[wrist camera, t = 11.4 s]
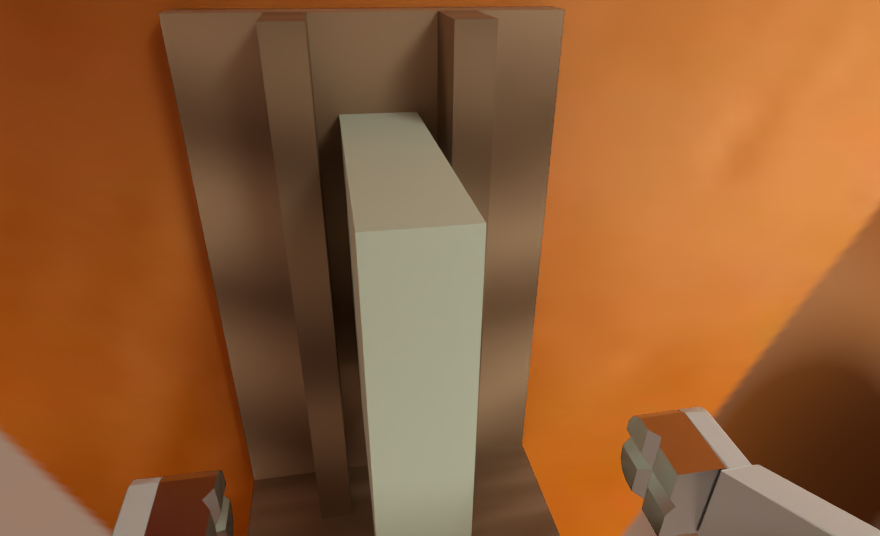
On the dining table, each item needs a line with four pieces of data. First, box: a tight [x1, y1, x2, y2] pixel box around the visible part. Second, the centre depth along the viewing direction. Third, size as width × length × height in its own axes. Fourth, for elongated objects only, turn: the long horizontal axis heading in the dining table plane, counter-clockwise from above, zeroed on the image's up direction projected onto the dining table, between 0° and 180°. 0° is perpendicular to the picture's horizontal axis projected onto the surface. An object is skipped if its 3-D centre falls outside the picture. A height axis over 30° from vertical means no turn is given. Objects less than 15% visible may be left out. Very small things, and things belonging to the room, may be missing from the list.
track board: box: [158, 7, 565, 536], centre depth 17 cm, size 20×12×14 cm, turn 0°
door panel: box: [339, 112, 486, 536], centre depth 17 cm, size 10×2×9 cm, turn 0°
